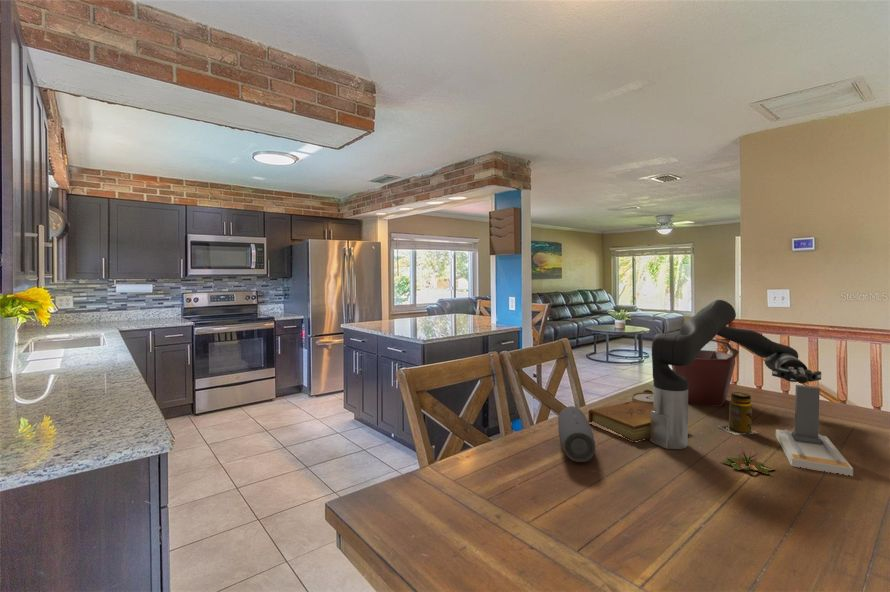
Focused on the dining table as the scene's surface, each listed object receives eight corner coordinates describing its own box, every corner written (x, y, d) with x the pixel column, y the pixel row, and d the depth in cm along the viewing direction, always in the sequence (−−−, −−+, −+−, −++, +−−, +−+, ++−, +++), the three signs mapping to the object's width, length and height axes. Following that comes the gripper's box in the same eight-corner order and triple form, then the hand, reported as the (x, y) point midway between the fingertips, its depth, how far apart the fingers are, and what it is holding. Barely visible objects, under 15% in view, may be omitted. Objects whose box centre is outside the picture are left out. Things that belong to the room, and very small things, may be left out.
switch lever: (791, 435, 127) (792, 383, 126) (817, 439, 124) (819, 386, 123) (794, 440, 123) (795, 387, 122) (821, 443, 120) (822, 389, 119)
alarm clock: (625, 397, 167) (646, 384, 175) (626, 408, 167) (647, 395, 175) (652, 404, 157) (673, 390, 165) (653, 416, 158) (674, 402, 166)
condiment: (758, 433, 135) (759, 396, 134) (734, 435, 133) (735, 398, 133) (739, 425, 142) (740, 390, 141) (716, 427, 141) (717, 391, 140)
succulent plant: (740, 455, 120) (740, 440, 119) (787, 474, 108) (787, 457, 108) (710, 463, 115) (710, 446, 115) (756, 483, 104) (756, 465, 104)
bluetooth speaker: (597, 468, 112) (598, 431, 112) (561, 465, 114) (561, 429, 114) (586, 436, 135) (587, 405, 134) (556, 434, 136) (556, 403, 136)
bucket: (736, 397, 173) (738, 336, 172) (740, 412, 155) (741, 345, 153) (669, 389, 186) (670, 333, 185) (664, 402, 168) (665, 340, 166)
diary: (635, 415, 156) (635, 399, 155) (683, 431, 139) (683, 414, 139) (588, 425, 145) (588, 408, 145) (634, 444, 129) (634, 425, 128)
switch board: (775, 435, 133) (775, 426, 132) (826, 442, 127) (826, 432, 126) (791, 466, 112) (792, 455, 112) (852, 476, 106) (853, 464, 106)
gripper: (766, 355, 146) (775, 365, 131) (816, 358, 139) (831, 370, 124) (765, 377, 146) (774, 389, 131) (815, 381, 140) (831, 395, 125)
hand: (802, 380), depth 128 cm, fingers closed
